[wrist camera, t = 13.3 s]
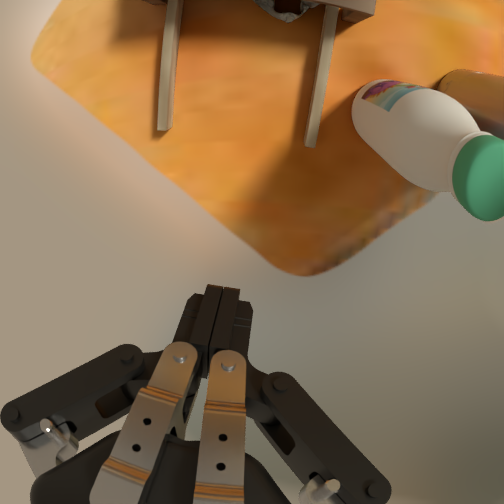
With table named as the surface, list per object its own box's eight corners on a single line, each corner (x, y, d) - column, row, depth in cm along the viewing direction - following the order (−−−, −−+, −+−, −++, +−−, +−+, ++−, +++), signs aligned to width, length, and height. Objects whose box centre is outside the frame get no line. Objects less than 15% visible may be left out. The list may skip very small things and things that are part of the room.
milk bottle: (408, 154, 31) (513, 255, 14) (344, 139, 31) (419, 238, 14) (422, 89, 26) (556, 140, 10) (355, 71, 26) (462, 88, 10)
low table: (366, -65, 17) (383, -86, 11) (333, 147, 31) (345, 165, 26) (170, -82, 16) (150, -103, 11) (144, 125, 31) (119, 139, 26)
